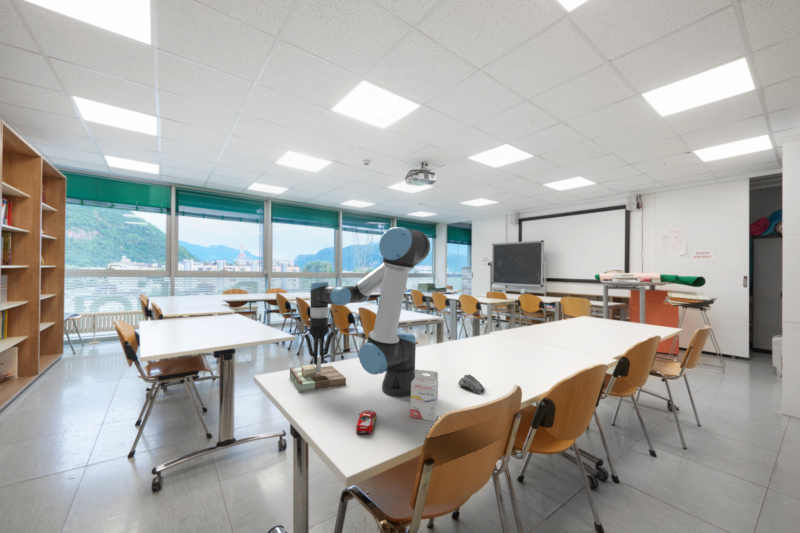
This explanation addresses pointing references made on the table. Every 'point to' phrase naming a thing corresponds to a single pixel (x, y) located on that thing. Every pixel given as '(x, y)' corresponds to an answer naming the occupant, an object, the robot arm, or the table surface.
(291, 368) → the multicoloured piece
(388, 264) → the robot arm
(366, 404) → the table surface
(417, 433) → the table surface
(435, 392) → the ink cartridge box
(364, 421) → the race car
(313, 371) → the birch block
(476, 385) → the fossilized seashell
